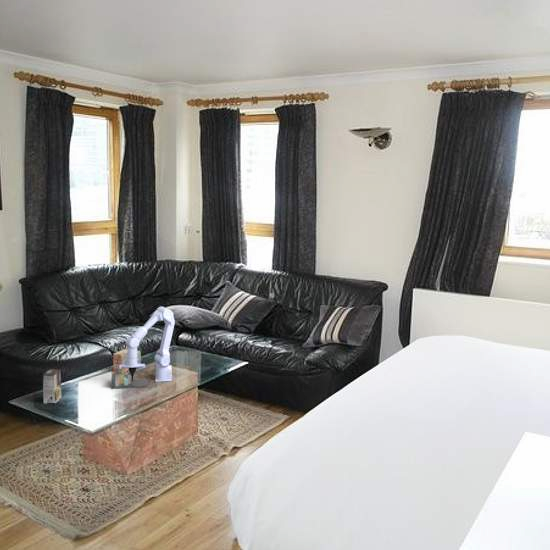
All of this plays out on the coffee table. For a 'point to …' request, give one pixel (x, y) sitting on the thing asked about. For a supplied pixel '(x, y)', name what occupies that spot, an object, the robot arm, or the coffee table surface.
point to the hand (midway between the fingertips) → (132, 379)
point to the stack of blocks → (123, 360)
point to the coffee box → (52, 386)
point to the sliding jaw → (127, 379)
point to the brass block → (121, 379)
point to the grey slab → (133, 384)
